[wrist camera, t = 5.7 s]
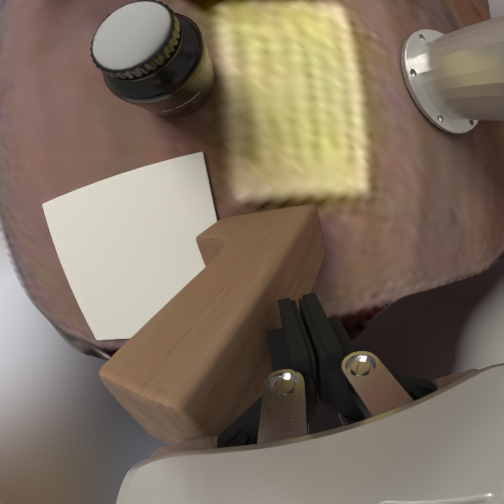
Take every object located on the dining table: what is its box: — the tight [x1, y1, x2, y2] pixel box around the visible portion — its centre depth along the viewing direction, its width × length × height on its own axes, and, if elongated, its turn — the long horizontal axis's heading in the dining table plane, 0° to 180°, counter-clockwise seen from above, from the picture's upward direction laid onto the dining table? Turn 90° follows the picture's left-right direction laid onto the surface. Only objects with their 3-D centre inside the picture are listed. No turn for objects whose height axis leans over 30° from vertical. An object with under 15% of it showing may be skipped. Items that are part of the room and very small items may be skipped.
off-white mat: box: [42, 152, 218, 340], centre depth 26 cm, size 19×18×1 cm
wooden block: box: [99, 204, 326, 444], centre depth 16 cm, size 9×4×18 cm, turn 105°
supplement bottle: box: [90, 0, 215, 117], centre depth 14 cm, size 7×7×12 cm
